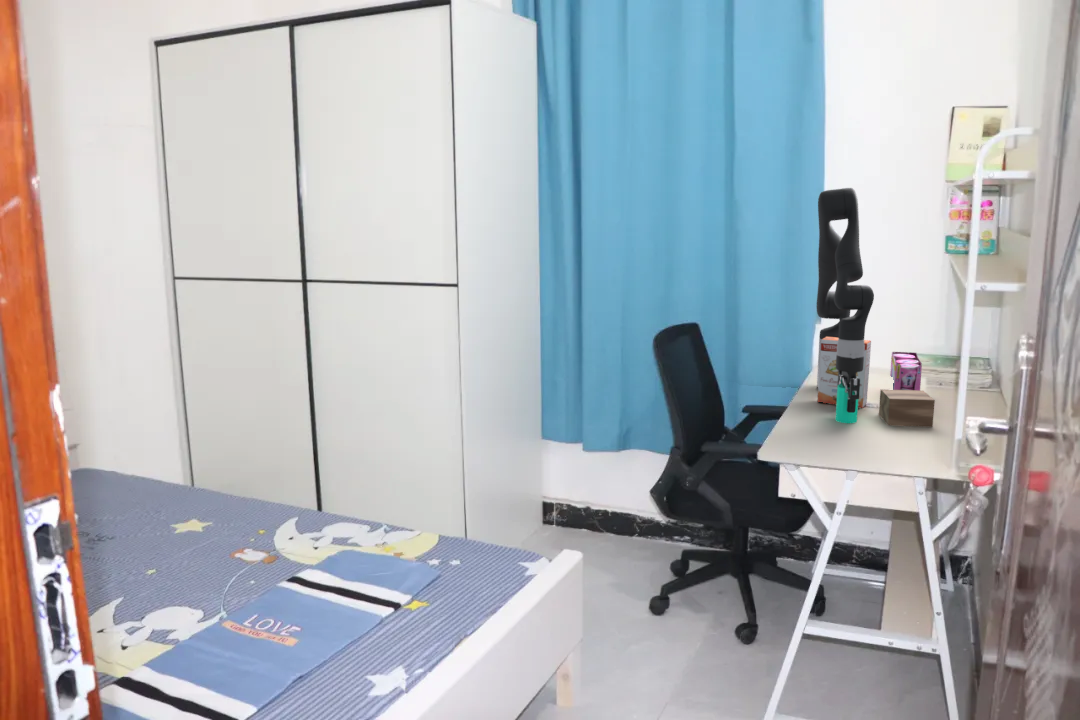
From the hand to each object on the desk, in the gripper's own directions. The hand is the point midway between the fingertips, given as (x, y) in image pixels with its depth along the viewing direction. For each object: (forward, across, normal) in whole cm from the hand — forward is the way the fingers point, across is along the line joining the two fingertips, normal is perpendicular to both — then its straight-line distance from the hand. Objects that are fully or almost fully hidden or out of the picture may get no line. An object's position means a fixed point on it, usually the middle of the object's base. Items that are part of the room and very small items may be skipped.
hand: (846, 408), depth 242 cm
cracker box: (+4, -20, +4) cm, 21 cm away
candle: (+4, 0, 0) cm, 4 cm away
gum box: (+4, -28, +26) cm, 38 cm away
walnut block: (+4, -1, +17) cm, 17 cm away
